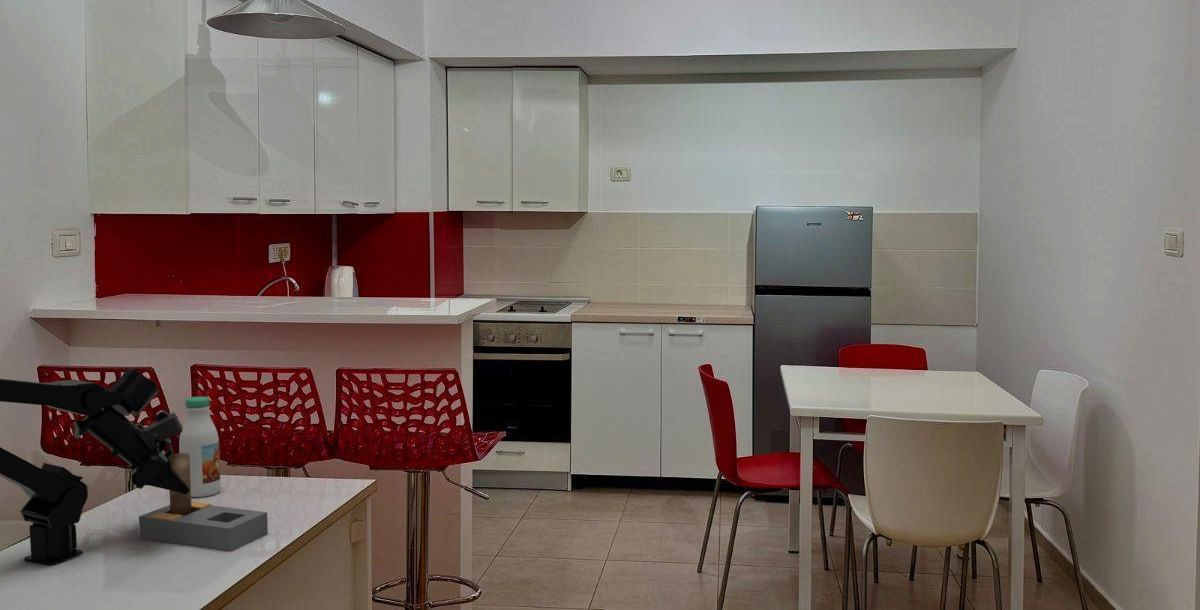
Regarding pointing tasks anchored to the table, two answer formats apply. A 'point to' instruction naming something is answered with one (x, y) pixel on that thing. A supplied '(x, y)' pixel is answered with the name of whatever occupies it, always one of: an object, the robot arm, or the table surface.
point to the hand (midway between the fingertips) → (188, 489)
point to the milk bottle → (201, 448)
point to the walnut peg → (182, 468)
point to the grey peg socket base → (205, 526)
